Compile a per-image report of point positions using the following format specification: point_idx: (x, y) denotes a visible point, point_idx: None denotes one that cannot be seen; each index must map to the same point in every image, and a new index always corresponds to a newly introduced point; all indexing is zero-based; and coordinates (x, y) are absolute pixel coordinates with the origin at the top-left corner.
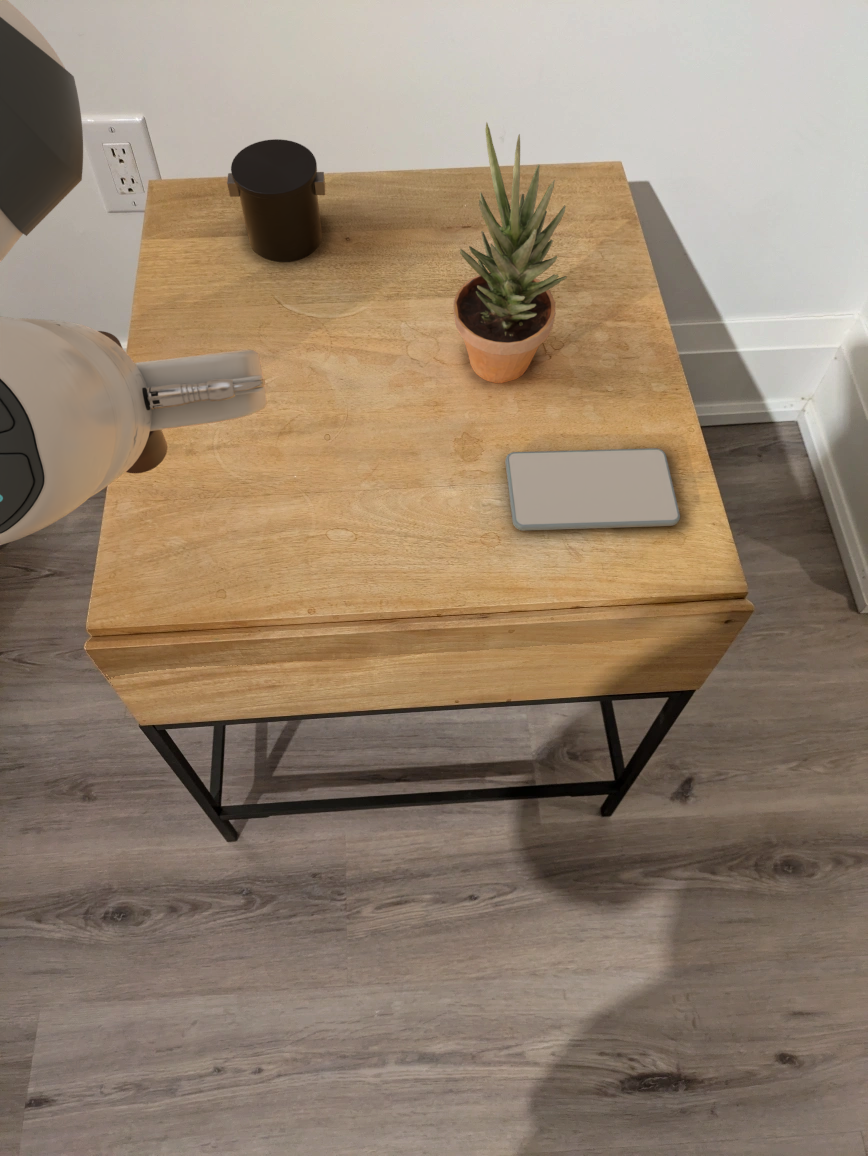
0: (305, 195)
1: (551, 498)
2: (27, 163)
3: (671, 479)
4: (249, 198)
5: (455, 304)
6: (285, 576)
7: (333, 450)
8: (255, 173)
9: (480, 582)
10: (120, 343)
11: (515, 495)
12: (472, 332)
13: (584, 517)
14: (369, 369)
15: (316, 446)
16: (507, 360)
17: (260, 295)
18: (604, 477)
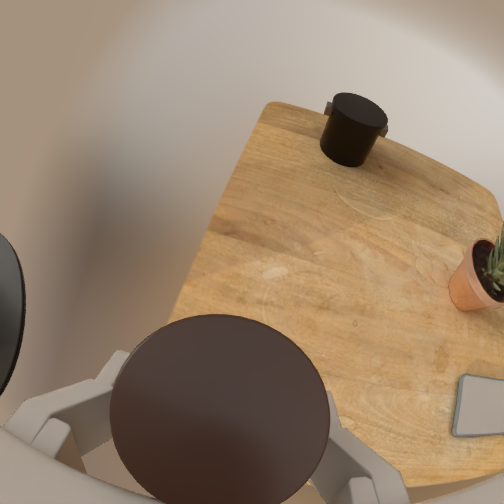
0: (376, 133)
1: (474, 414)
2: None
3: None
4: (341, 119)
5: (471, 256)
6: None
7: (357, 338)
8: (349, 107)
9: (420, 472)
10: (328, 407)
11: (460, 410)
12: (481, 285)
13: (483, 429)
14: (391, 270)
15: (345, 329)
16: (483, 306)
17: (322, 181)
18: (496, 400)
